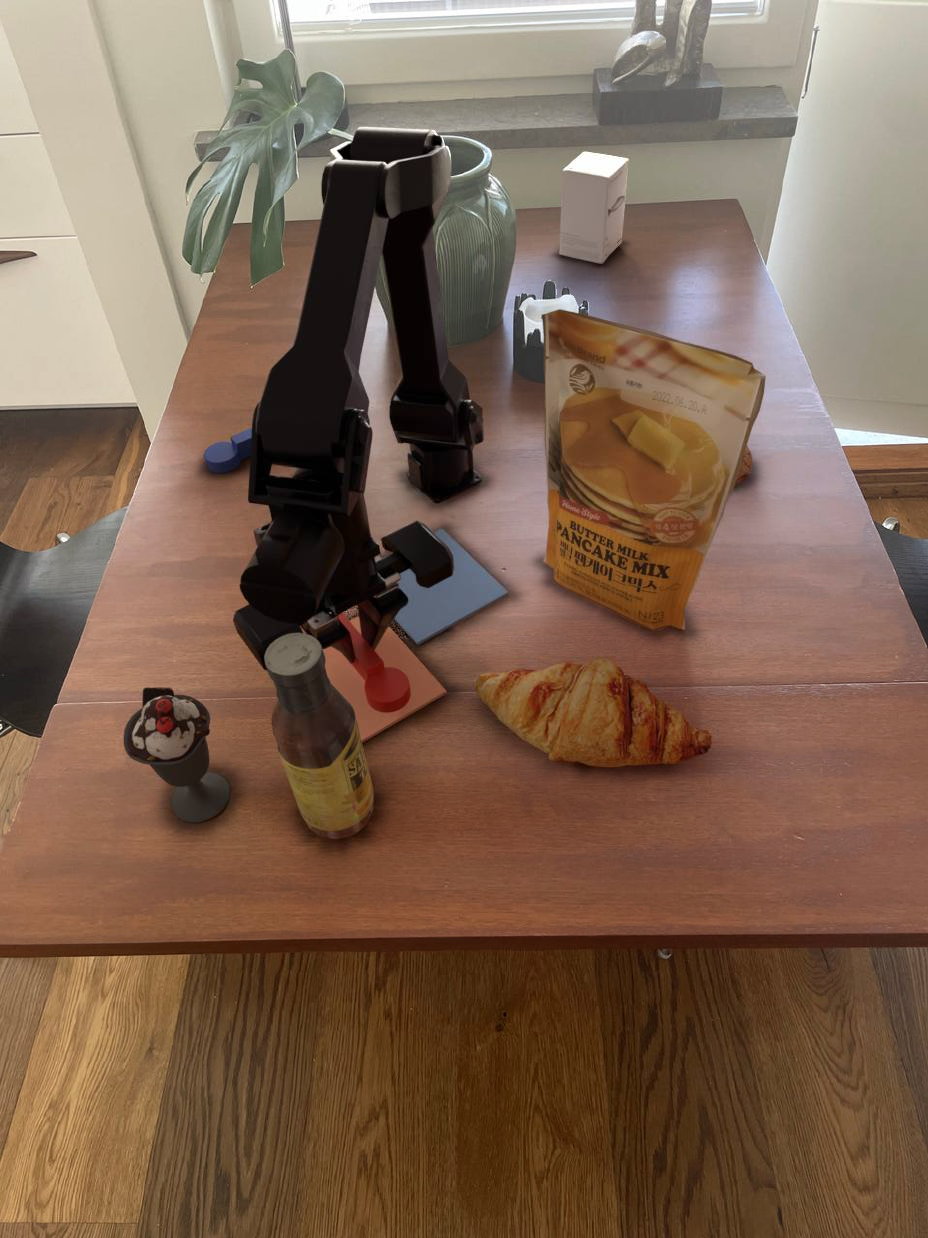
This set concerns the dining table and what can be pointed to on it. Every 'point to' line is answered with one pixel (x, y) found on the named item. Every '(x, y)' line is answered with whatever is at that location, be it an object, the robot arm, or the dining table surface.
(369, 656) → the red spoon
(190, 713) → the sundae
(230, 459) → the blue spoon
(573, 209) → the white packaging box
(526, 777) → the dining table surface
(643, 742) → the croissant
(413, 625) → the blue mat
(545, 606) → the dining table surface
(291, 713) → the sauce bottle
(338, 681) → the red mat
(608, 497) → the pancake mix bag
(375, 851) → the dining table surface
